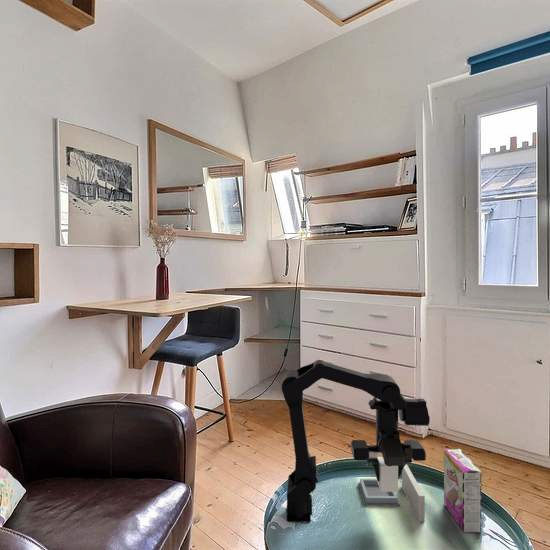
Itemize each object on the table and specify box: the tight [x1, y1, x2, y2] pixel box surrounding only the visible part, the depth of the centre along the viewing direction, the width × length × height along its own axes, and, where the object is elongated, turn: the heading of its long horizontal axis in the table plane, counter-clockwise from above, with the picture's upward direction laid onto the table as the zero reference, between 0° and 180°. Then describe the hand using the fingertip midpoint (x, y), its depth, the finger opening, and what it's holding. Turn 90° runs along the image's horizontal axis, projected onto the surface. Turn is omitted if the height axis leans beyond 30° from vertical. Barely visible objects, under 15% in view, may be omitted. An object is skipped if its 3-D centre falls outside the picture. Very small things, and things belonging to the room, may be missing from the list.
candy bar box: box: [443, 448, 482, 534], centre depth 98 cm, size 11×5×16 cm, turn 0°
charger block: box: [376, 456, 399, 493], centre depth 99 cm, size 4×4×7 cm
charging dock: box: [358, 478, 401, 507], centre depth 109 cm, size 10×10×2 cm
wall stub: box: [401, 464, 426, 522], centre depth 105 cm, size 2×15×7 cm, turn 177°
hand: (387, 480), depth 99 cm, fingers closed on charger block, 4 cm apart
